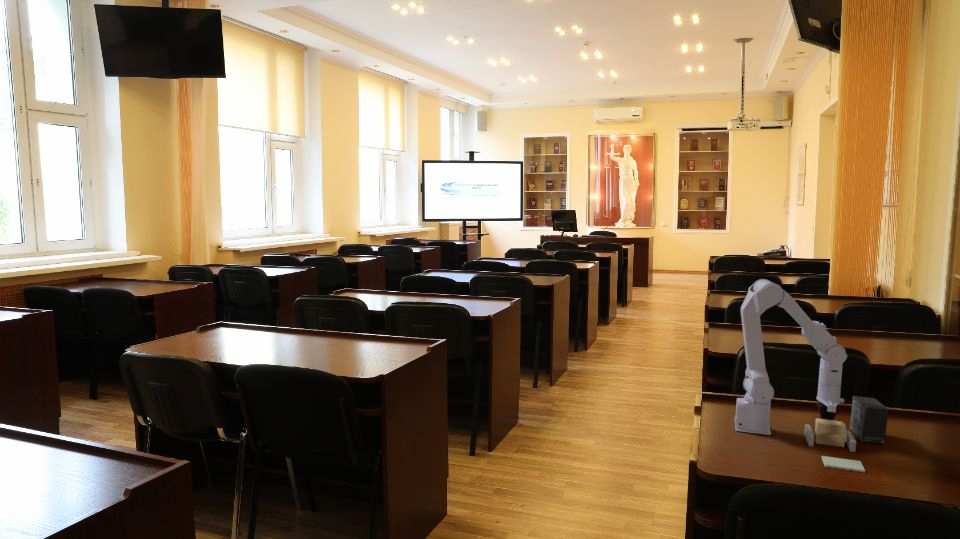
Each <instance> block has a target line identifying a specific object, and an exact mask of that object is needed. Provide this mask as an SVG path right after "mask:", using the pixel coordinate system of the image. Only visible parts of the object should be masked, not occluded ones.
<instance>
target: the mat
mask: <svg viewBox="0 0 960 539" xmlns="http://www.w3.org/2000/svg"><path fill="white" fill-rule="evenodd" d="M821 460H822V463H823V465H824V467H825V468H829V467H830V468H831V469H836V468H837V470H843V469H844V471H850V470H852V471H851V472H858V471H859V473H866V469H865V467H864V465H863V463H862V461H860V460H855V459H848V458H839V457H832V456H827V455H826V456H825V455H821Z"/></svg>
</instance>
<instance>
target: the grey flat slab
mask: <svg viewBox="0 0 960 539" xmlns="http://www.w3.org/2000/svg"><path fill="white" fill-rule="evenodd" d="M814 435H815V434H814V432H813V430H812V427H811V425H810V424H804V436H805V440H806V443H807V445H808V447H814V446H815V445H814V444H815V439H814ZM845 444H846V445H847V446H846V447H848V450H849V452H852V453H856V448H857V441H856V439H855V437H854V434H853V433H852V432H851V431H850V430H849V428H848V429H847V428H846V433H845Z"/></svg>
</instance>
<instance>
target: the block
mask: <svg viewBox="0 0 960 539" xmlns="http://www.w3.org/2000/svg"><path fill="white" fill-rule="evenodd" d="M814 425H815V426H814V434H813V435H814V443H815V444H816V445H817V444H819V445H827V446H834V447H840V446H841V447H842V448H845V444H846V442H845V433H846V429H847V425H846V423H845V422H844V421H843V420H842V421H841V420H835V419H834V420H826V419H820V418H816V417H815V423H814Z"/></svg>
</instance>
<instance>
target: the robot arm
mask: <svg viewBox="0 0 960 539" xmlns="http://www.w3.org/2000/svg"><path fill="white" fill-rule="evenodd" d="M773 306H778V307H779V308H783V309H784V310H785V311H786V312H787V313H788V314H789V315H790V317H792V319H794V320H795V321H796V323H797V324H798V325H799V326H800V327H801V335H802V336H803V337H804V338H805V339H806V341H807V342H808V343H809V344H810V345H811V346H812V347H813V348H814V350H816V353H817V355H818V356H820V362H819V370H818V374H819V375H818V384H817V385H818V386H817V395H816V400H817V401H818V402H815V404H816V406H817V408H818V411H819V419H826V420H834V421H835V418H836V417H837V416H836V415H838V413H839V412H840V410H841V409H840V407H839V404H840V403H843V404H844V403H845V399H844V398H842V397H841V390H842V389H841V388H842V387H841V386H842V375H843V363H845V361H846V360H847V358H848V354H847V352H846V351H847V350H846V349H845V348H844V346H843V345H841V344H839V343H837V341H838V339H837V337H836V336H832V335H831V333H830V332H829V331H828V330H827V329H826V328H827V325H825V323H823V322H821V323H820V321H817V320H812V319H811V318H810V317H809V316H808V315H807V313H806V312H805V311H804V310H803V309H802V307H801V306H800V305H799V303H797V302H796V300H795V299H794V298H793V297H792V296H791V295H790V294H789V293H788V292H787V291H786V290H785V289H783V288H782V287H781V286H780V285H779V284H777V283H775V282H772V281H771V280H769V279H765V278H759V279H757V280H756V281H755V282H754V283H752V285H750V286H749V287H748V291H747V293H746V296H745V298H744V299H743V302H742V304H741V306H740V316H741V317H740V318H741V325H742V326H741V328H742V335H743V344H744V345H743V347H744V354H745V362H746V369H745V371H744V372H745V377H744V379H743V384H742V387H743V389H744V390H745V391H746V393H744V394H745V395H744V396H743V397H737V398H736V404H735V416H734V419H733V420H734V421H733V422H734V426H735V431H736V432H742V433H752V434H758V435H759V434H760V435H766V436H771V435H772V431H771V427H770V418H771V417H770V416H771V405H772V404H771V402H772V399H773V398H774V394H775V390H774V388H773V386H772V385H771V383H770V378H769V375H768V372H767V369H766V368H767V367H766V361H765V360H766V359H765V352H764V344H763V334H762V324H761V315H762V314H764V313H765V311H766V310H767V309H770V308H772V307H773Z"/></svg>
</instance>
